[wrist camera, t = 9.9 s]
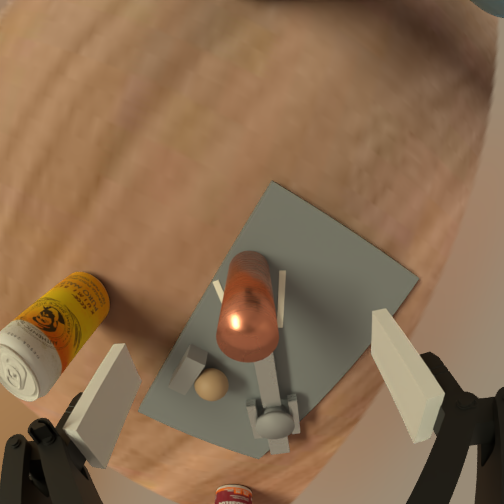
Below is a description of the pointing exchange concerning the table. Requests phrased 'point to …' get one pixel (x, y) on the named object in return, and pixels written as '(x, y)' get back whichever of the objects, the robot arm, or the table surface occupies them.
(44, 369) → the beer can
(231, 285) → the lever
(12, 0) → the table surface
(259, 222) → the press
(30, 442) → the robot arm
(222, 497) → the pill bottle
